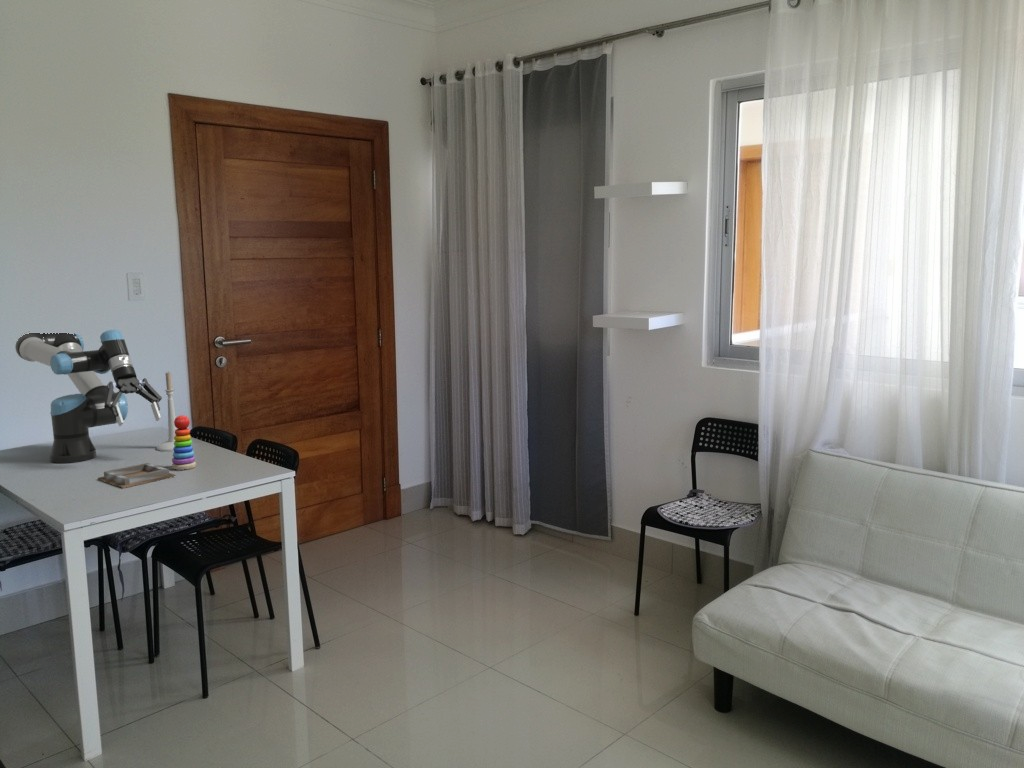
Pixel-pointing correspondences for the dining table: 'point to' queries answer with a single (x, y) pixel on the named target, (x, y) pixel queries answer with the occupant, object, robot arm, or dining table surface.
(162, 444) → the candlestick
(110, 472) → the plate
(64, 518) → the dining table surface
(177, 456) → the stacking toy
